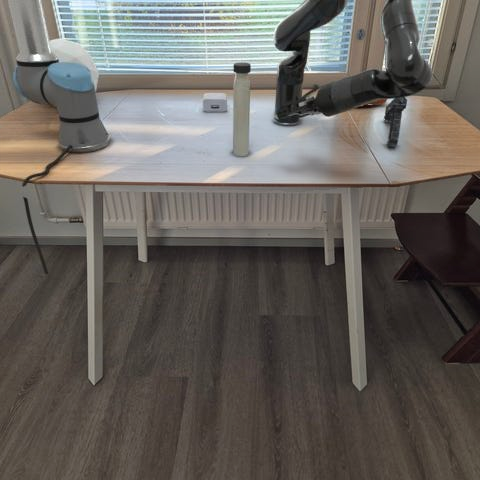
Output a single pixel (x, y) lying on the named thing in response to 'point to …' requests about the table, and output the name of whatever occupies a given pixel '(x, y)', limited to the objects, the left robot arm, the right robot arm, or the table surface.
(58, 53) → the decorative sphere
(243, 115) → the bottle
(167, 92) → the table surface
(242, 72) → the cap
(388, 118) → the futuristic handgun
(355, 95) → the right robot arm
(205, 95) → the charger
